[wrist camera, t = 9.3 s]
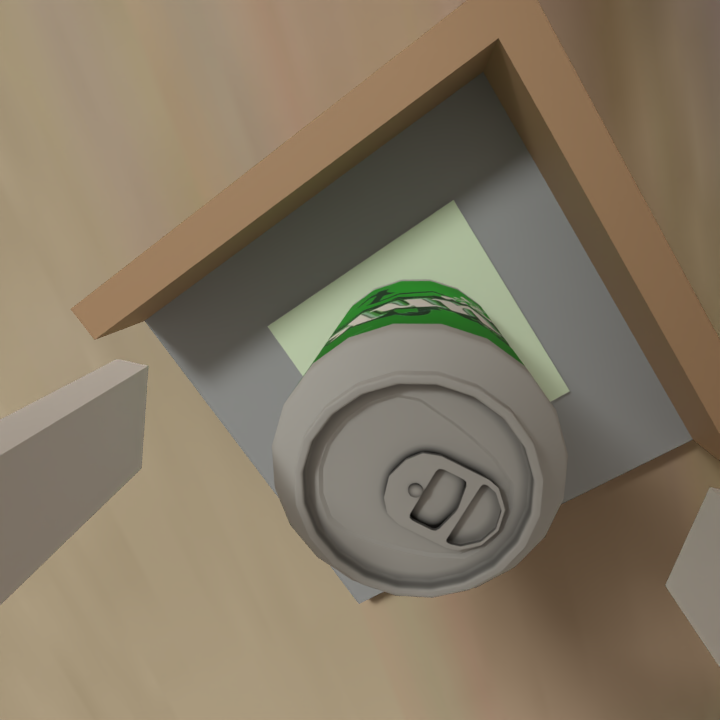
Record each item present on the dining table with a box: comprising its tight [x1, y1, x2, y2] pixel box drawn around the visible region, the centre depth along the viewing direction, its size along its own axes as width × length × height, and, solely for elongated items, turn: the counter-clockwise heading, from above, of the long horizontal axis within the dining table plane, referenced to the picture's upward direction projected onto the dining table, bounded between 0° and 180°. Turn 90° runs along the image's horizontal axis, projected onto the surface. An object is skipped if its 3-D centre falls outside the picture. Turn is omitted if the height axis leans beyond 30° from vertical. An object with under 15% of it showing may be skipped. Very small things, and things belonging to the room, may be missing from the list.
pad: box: [267, 200, 569, 402], centre depth 24 cm, size 10×10×1 cm
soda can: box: [272, 279, 568, 598], centre depth 18 cm, size 8×8×12 cm
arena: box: [71, 0, 720, 603], centre depth 22 cm, size 20×20×5 cm
